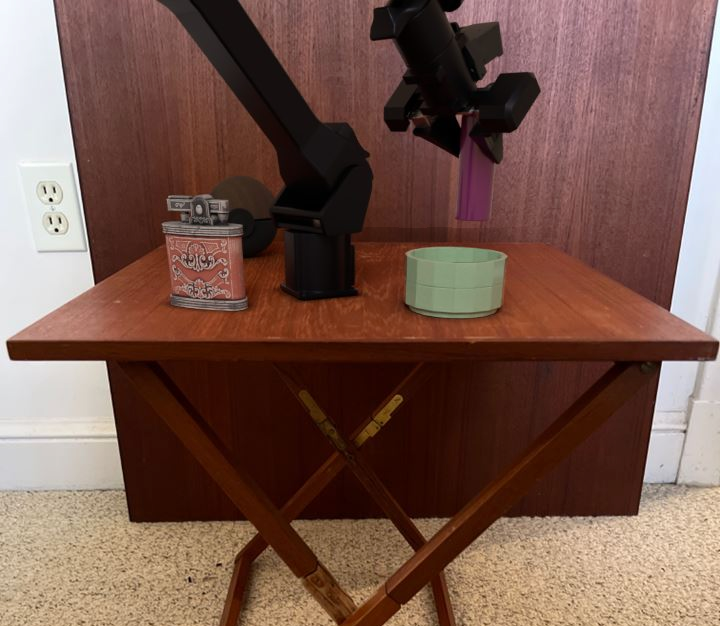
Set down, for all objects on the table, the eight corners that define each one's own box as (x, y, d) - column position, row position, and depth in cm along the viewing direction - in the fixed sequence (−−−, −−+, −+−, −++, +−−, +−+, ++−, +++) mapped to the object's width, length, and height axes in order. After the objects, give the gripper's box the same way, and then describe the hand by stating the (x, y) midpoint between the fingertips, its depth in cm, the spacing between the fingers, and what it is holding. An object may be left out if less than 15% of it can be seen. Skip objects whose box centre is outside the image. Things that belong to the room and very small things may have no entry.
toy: (205, 263, 89) (197, 178, 85) (213, 251, 98) (206, 173, 93) (279, 262, 90) (275, 178, 85) (281, 250, 99) (277, 173, 94)
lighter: (254, 304, 69) (247, 194, 64) (238, 312, 66) (229, 197, 61) (182, 298, 71) (171, 192, 66) (164, 305, 68) (150, 194, 64)
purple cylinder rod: (467, 221, 84) (476, 104, 79) (448, 218, 88) (454, 105, 82) (497, 220, 86) (508, 105, 80) (477, 216, 90) (485, 105, 84)
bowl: (436, 323, 62) (440, 266, 60) (387, 302, 70) (388, 250, 67) (522, 313, 66) (528, 258, 64) (465, 294, 73) (469, 244, 71)
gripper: (542, -25, 68) (585, 107, 80) (403, -2, 80) (458, 109, 92) (484, 64, 67) (537, 185, 78) (352, 73, 79) (414, 176, 91)
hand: (484, 160), depth 85 cm, fingers closed on purple cylinder rod, 4 cm apart
